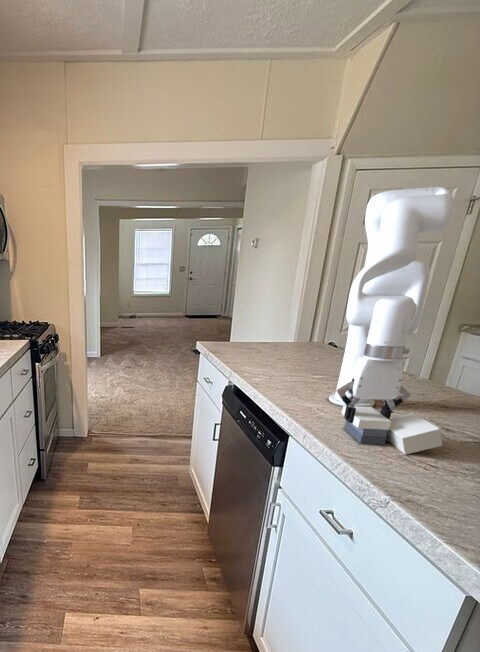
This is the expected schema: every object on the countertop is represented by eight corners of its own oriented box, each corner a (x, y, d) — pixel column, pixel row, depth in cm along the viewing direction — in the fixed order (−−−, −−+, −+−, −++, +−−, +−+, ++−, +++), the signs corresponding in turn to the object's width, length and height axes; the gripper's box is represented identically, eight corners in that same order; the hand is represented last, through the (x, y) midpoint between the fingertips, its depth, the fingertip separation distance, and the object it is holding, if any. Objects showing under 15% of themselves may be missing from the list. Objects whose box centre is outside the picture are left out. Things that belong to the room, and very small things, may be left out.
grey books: (344, 427, 110) (347, 413, 108) (366, 428, 109) (369, 415, 107) (360, 443, 100) (363, 428, 98) (384, 444, 99) (388, 429, 97)
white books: (383, 436, 104) (380, 421, 102) (416, 428, 101) (413, 412, 100) (405, 454, 94) (402, 438, 92) (442, 445, 91) (440, 428, 90)
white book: (341, 413, 108) (343, 405, 108) (370, 414, 107) (372, 407, 106) (357, 428, 98) (359, 419, 98) (389, 430, 97) (391, 421, 96)
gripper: (415, 350, 97) (396, 419, 104) (337, 348, 101) (323, 415, 107) (433, 356, 91) (411, 429, 97) (349, 354, 94) (333, 425, 100)
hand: (365, 421), depth 102 cm, fingers closed on white book, 7 cm apart
